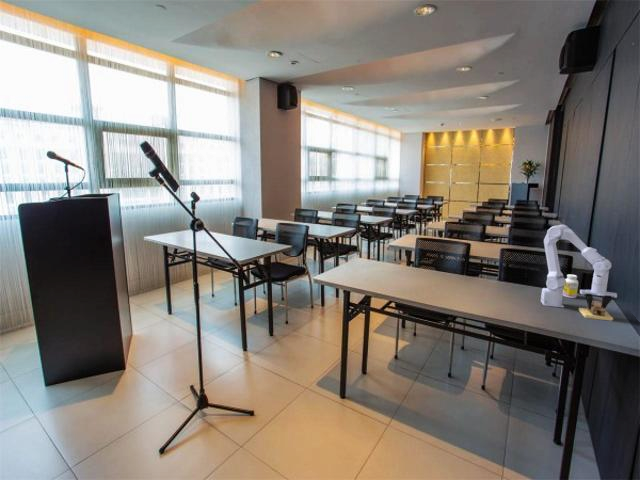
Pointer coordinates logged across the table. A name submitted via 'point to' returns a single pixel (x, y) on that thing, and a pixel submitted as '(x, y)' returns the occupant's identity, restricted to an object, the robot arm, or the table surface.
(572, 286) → the supplement bottle
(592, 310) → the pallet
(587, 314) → the plate
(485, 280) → the table surface
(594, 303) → the salmon pink square block
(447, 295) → the table surface
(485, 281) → the table surface
